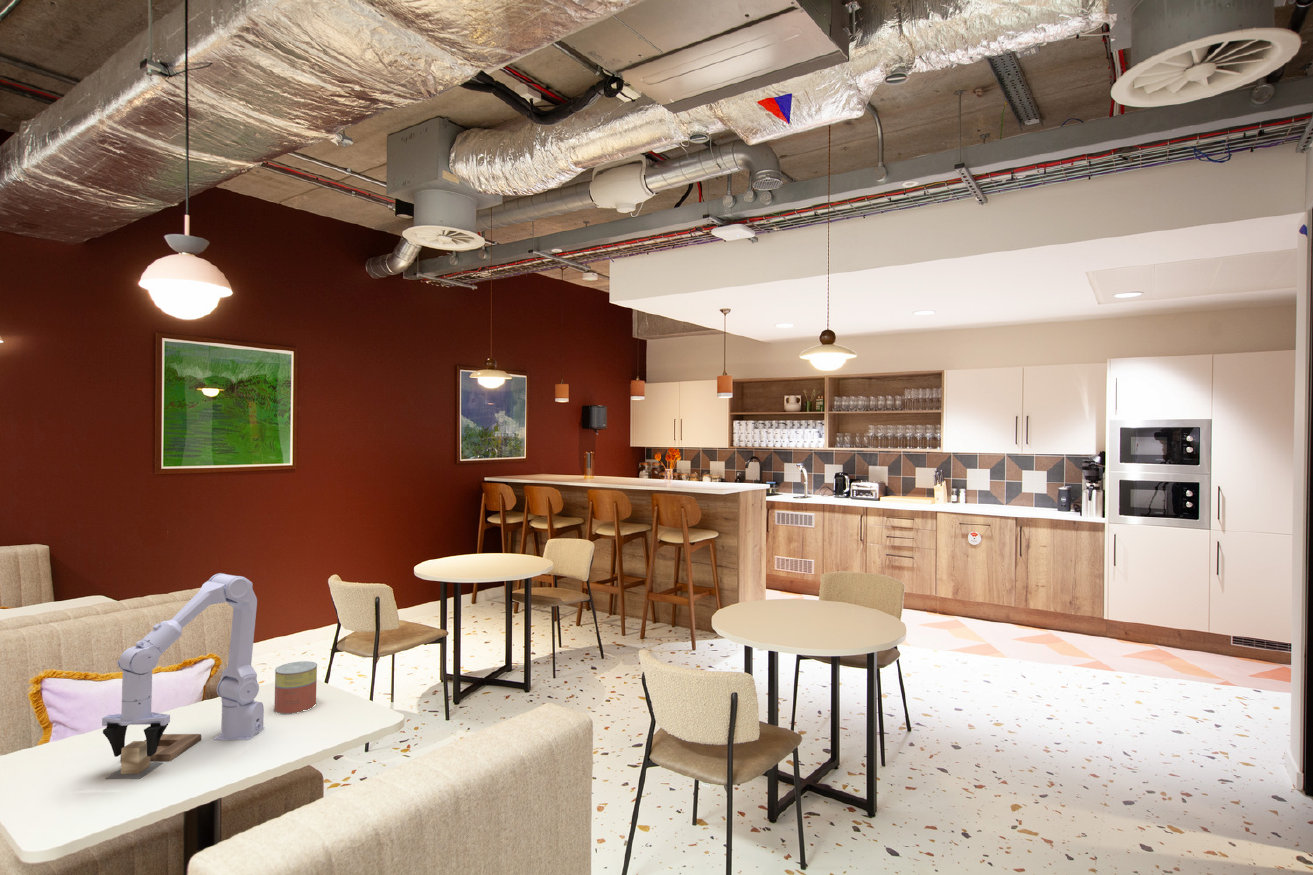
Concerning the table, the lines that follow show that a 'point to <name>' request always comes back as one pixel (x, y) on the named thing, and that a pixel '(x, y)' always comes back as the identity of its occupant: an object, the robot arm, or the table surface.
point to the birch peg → (134, 758)
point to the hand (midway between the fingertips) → (135, 754)
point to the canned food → (295, 687)
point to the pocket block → (174, 746)
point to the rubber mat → (134, 776)
